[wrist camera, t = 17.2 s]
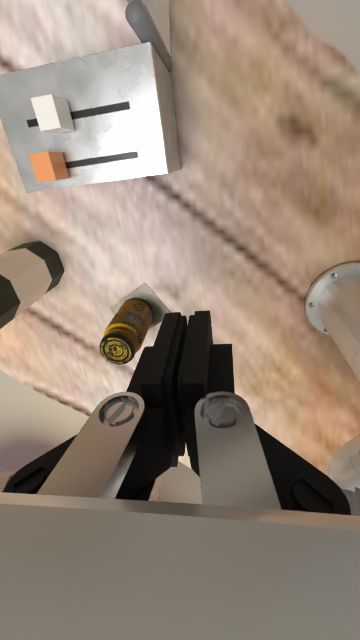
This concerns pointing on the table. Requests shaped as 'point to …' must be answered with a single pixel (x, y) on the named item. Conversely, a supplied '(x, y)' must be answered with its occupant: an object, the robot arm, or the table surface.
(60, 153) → the fader
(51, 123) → the fader
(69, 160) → the white slider console
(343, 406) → the table surface
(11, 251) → the wine bottle
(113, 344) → the condiment
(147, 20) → the door
